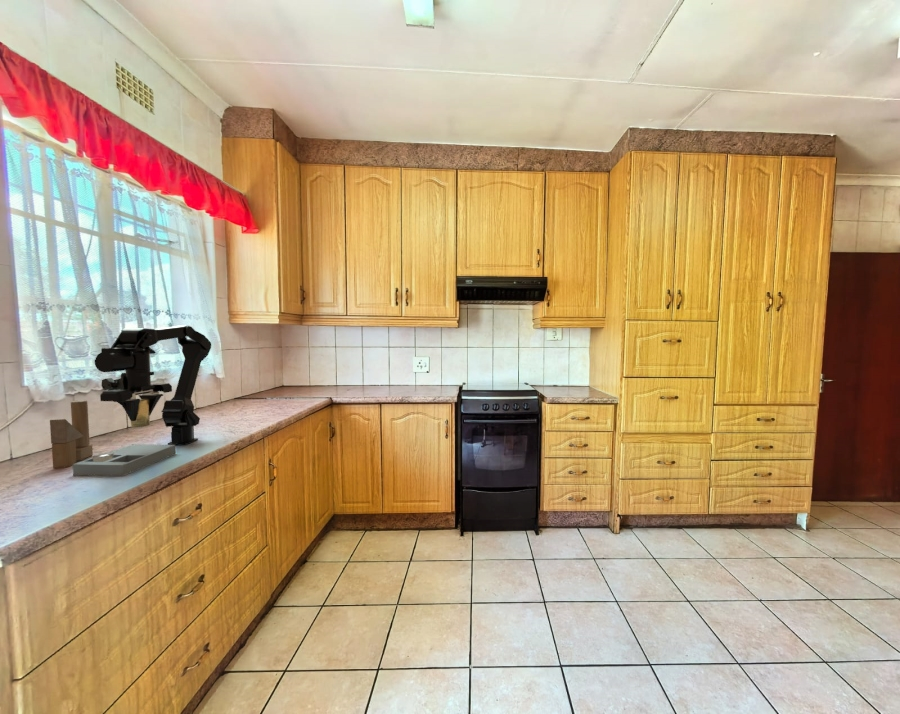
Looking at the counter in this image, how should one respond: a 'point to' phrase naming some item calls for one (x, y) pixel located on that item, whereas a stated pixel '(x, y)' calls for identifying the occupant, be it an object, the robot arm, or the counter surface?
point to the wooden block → (71, 437)
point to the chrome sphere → (103, 457)
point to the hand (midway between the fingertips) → (140, 419)
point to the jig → (125, 460)
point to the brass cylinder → (142, 414)
